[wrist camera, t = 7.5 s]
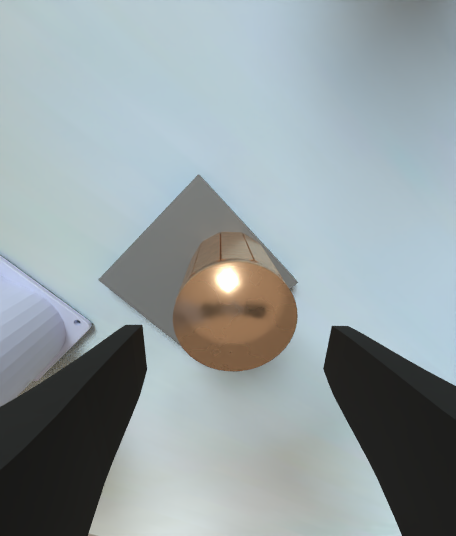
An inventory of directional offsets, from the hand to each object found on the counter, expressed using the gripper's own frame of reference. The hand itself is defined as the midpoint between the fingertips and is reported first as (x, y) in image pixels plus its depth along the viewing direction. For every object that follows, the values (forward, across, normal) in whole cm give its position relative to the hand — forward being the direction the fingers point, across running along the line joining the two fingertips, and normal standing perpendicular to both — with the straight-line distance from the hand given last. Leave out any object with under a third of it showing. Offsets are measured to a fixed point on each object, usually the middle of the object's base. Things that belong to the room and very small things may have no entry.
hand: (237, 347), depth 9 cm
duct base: (+9, +2, +1) cm, 10 cm away
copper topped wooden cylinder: (+8, 0, 0) cm, 8 cm away
